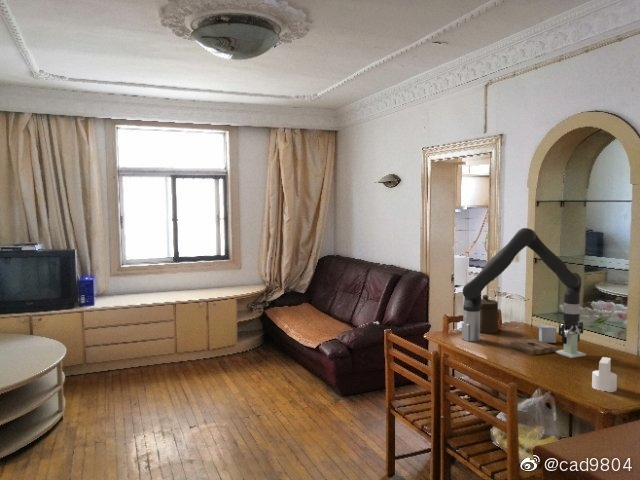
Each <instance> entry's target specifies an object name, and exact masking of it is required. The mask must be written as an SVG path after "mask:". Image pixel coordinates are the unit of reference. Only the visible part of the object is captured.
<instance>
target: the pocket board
mask: <svg viewBox="0 0 640 480" xmlns="http://www.w3.org/2000/svg"><path fill="white" fill-rule="evenodd" d="M509 344H510V347H511V348H513V349H516V350H519V351H521V352H524V353H526V354H529V355H532V356H535V355H536V356H537V355H541V354H542V355H543V354H548V353H549V354H550V353H556V352H555V351H557V350H558V349H557V347H558V346H555V345H553V344H550V343H545V342H542V341H539V339H536V338H528V339H523V340H515V341H510V343H509Z"/></svg>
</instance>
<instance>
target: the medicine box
mask: <svg viewBox="0 0 640 480" xmlns="http://www.w3.org/2000/svg"><path fill="white" fill-rule="evenodd" d="M538 340H539V341H542V342H545V343H548V344H550V343H551V344H552V343H554V344H555V343H557V327H555V326H554V325H539V326H538Z"/></svg>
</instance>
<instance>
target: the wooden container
mask: <svg viewBox="0 0 640 480" xmlns="http://www.w3.org/2000/svg"><path fill="white" fill-rule="evenodd" d="M498 313H499V301H497V300H493V299H489V296H488V295H487V294H484V295H482V298H481V306H480V332H482V333H481V334H495V333H498V331H499V329H498V328H499V314H498Z"/></svg>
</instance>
